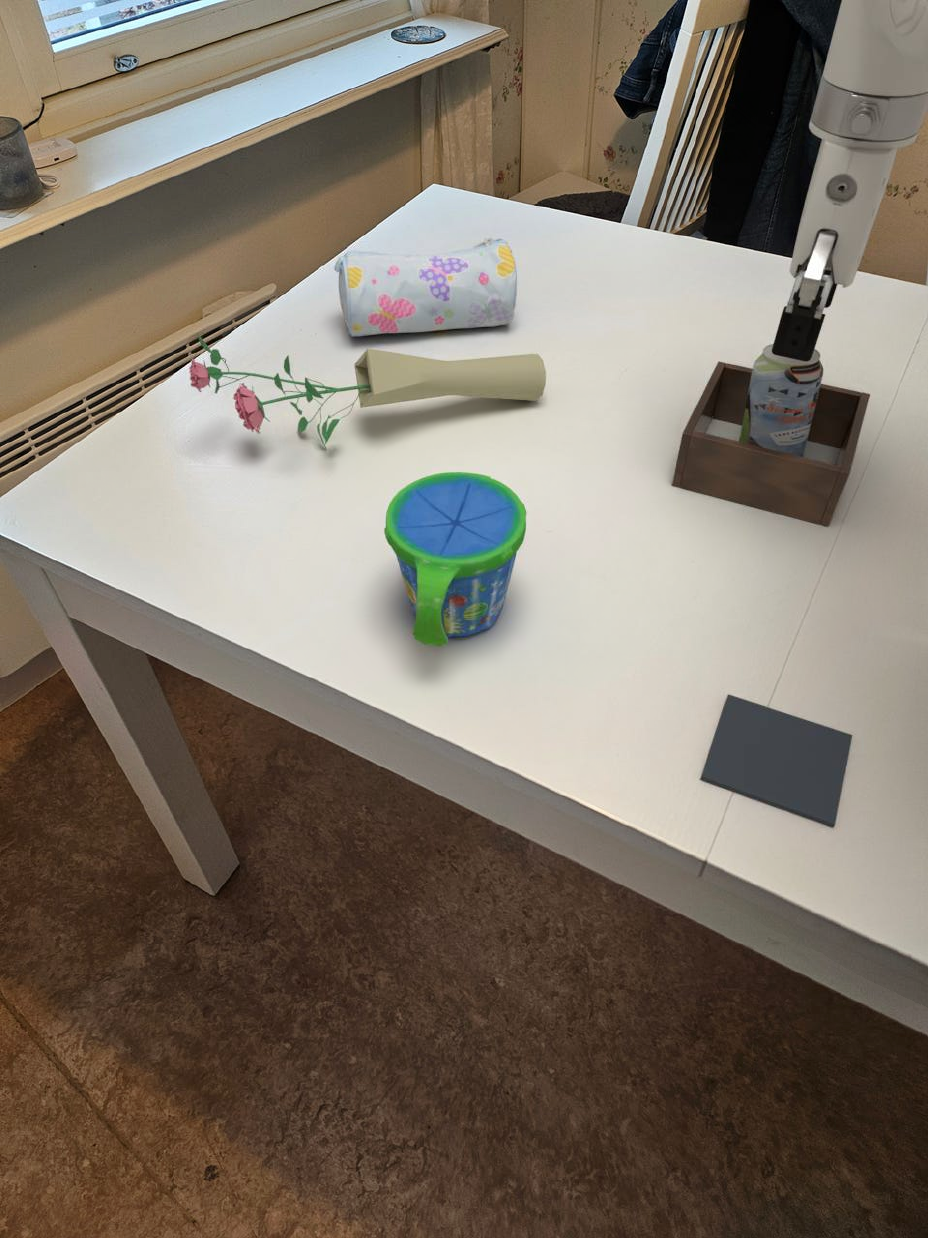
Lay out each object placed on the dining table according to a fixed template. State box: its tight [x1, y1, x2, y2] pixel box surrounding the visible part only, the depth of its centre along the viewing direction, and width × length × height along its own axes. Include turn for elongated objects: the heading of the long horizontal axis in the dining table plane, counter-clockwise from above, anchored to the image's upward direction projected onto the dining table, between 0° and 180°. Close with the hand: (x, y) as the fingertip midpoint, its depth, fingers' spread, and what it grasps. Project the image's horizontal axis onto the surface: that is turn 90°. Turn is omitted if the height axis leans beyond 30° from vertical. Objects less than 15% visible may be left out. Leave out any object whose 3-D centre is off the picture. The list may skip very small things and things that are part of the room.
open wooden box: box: [671, 361, 871, 527], centre depth 83 cm, size 15×14×6 cm
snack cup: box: [383, 471, 527, 647], centre depth 68 cm, size 16×10×10 cm
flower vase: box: [188, 333, 547, 451], centre depth 87 cm, size 12×12×35 cm
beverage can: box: [738, 343, 824, 457], centre depth 81 cm, size 6×7×12 cm
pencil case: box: [333, 237, 518, 337], centre depth 101 cm, size 21×9×10 cm, turn 101°
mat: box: [700, 693, 853, 828], centre depth 62 cm, size 9×8×1 cm
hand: (801, 328), depth 75 cm, fingers open, 9 cm apart
